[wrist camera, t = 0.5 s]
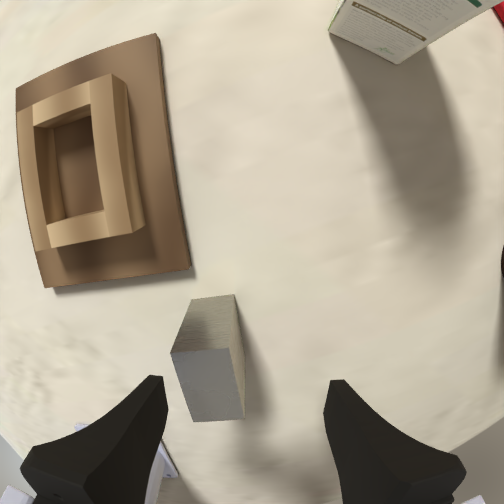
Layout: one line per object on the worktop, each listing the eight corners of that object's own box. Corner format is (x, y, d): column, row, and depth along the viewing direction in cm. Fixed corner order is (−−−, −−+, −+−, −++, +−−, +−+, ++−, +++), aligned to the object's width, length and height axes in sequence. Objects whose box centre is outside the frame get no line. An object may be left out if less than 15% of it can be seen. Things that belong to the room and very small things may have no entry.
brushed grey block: (205, 358, 23) (193, 422, 16) (191, 299, 22) (170, 353, 15) (244, 354, 23) (244, 418, 16) (234, 294, 22) (229, 347, 15)
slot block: (51, 283, 21) (27, 300, 18) (23, 90, 17) (-4, 83, 14) (191, 264, 21) (181, 282, 18) (159, 38, 17) (144, 17, 14)
